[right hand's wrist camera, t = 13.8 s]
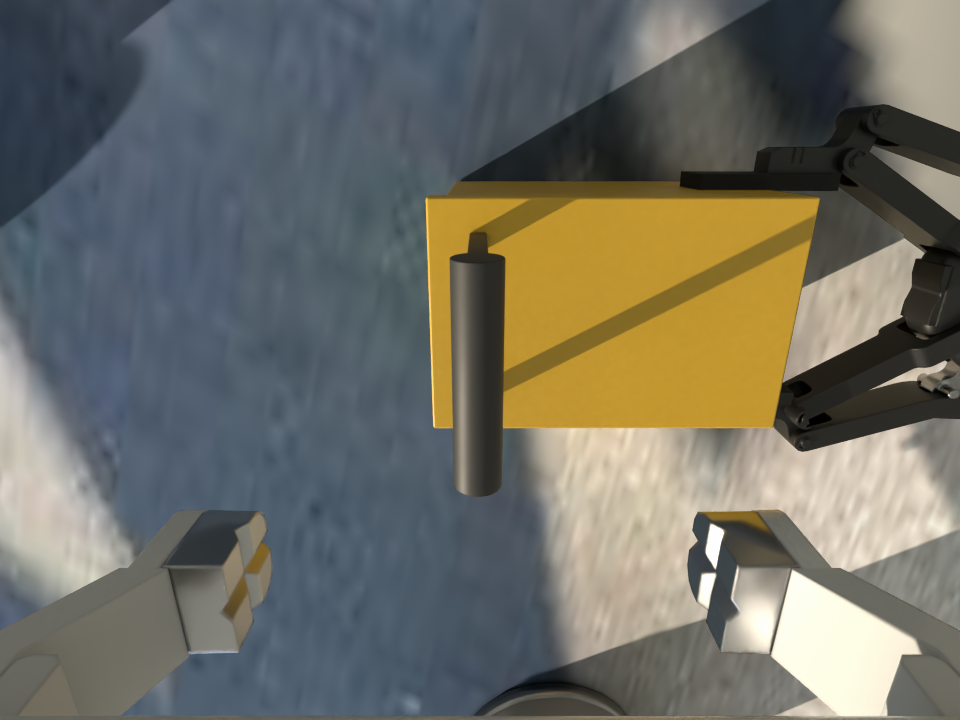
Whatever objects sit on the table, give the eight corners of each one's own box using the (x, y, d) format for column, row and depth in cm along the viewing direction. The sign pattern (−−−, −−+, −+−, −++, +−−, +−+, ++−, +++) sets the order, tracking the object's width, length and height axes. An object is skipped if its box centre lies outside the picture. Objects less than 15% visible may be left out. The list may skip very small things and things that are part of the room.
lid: (435, 417, 27) (416, 528, 19) (428, 194, 23) (401, 218, 16) (761, 417, 27) (877, 527, 19) (805, 194, 23) (971, 218, 16)
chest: (458, 345, 37) (450, 416, 27) (456, 181, 33) (446, 194, 24) (686, 345, 37) (761, 416, 27) (708, 181, 33) (804, 194, 24)
